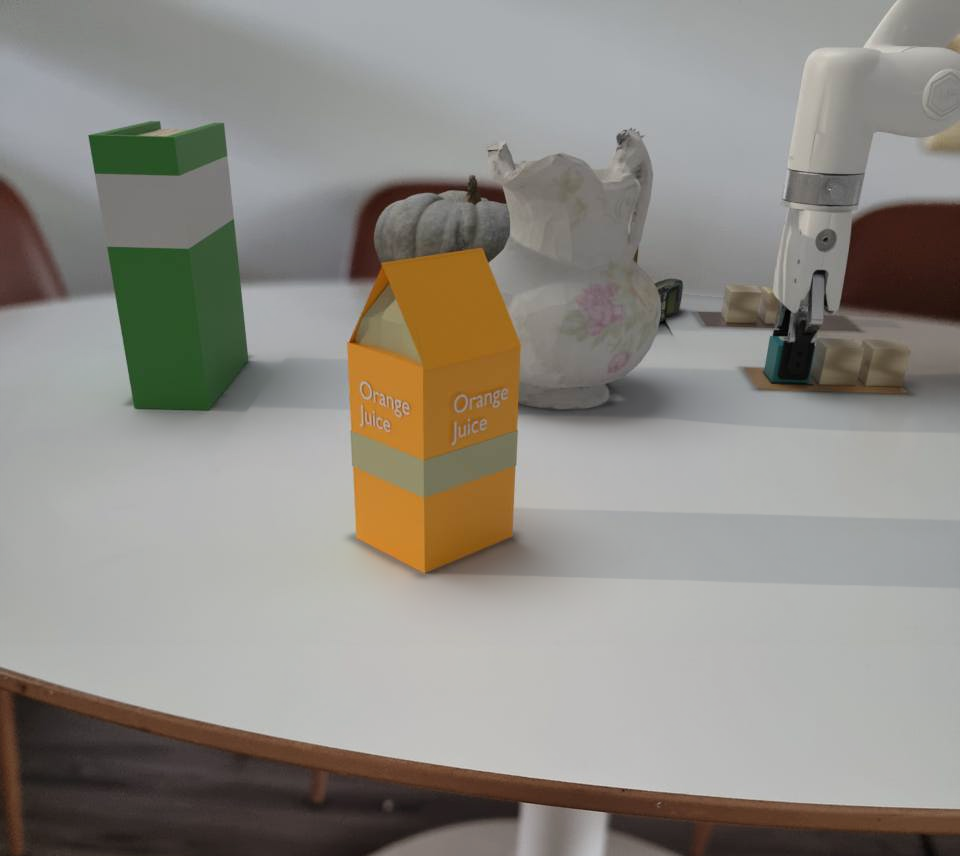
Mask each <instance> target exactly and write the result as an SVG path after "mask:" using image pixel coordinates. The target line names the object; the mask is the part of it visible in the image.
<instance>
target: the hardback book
mask: <svg viewBox="0 0 960 856" xmlns="http://www.w3.org/2000/svg"><path fill="white" fill-rule="evenodd" d="M87 136H88V142H89V148H90V153H91V160H92V165H93V171H94V178H95V183H96V184H95V185H96V189H97V195H98V202H99V207H100V213H101V218H102V219H101V220H102V225H103V230H104V237H105V243H106V249H107V255H108V260H109V267H110V272H111V278H112V284H113V290H114V297H115V302H116V309H117V314H118V319H119V326H120V331H121V338H122V343H123V349H124V355H125V361H126V367H127V372H128V373H127V374H128V379H129V385H130V391H131V396H132V403H133V408H134V409H149V410H188V411H189V410H191V411H210V410H211V408H212V407H213V406H214V405H215V404H216V403H217V401H218V400H219V398H220V397H221V396H222V395H223V393H224V392H225V391H226V390H227V389H228V387H229V386H230V385H231V383H232V382H233V381H234V380H235V378H236V377H237V376H238V374H239V373H240V372H241V371H242V370H243V368H244V367H245V366H246V364H248V362H249V352H248V343H247V342H248V341H247V332H246V323H245V322H246V321H245V313H244V303H243V293H242V284H241V283H242V282H241V273H240V265H239V264H240V263H239V255H238V246H237V235H236V226H235V216H234V207H233V195H232V187H231V177H230V168H229V157H228V149H227V148H228V147H227V139H226V138H227V137H226V127H225V122H212V123H208V124H205V125H201V126H198V127H194V128H191V129H177V128H176V129H175V128H173V129H172V128H162V124H161V121H160V120H149V121H144V122H141V123H137V124H132V125H127V126H122V127H118V128H113V129H110V130H105V131H100V132H97V133H91V134H88V135H87Z"/></svg>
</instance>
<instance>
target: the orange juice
mask: <svg viewBox="0 0 960 856" xmlns="http://www.w3.org/2000/svg"><path fill="white" fill-rule="evenodd" d="M381 264H382V266H381V268H380V270H379V272H378V275H377V277H376V279H375V281H374V284H373V286H372V288H371V291H370V292H369V294H368V297H367V300H366V301H365V305H364V306H363V309H362V311H361V313H360V315H359V317H358V320H357V323H356V325H355V326H354V329H353V332H352V334H351V336H350V338H349V341H347V342H346V349H347V351H346V352H347V370H348V371H347V372H348V373H347V374H348V390H349V392H348V393H349V413H350V414H349V415H350V432H349V433H350V449H351V450H350V451H351V466H352V476H353V495H354V496H353V497H354V514H355V515H354V516H355V537H356V539H358V540H359V541H361V542H363V543H366V544H367V545H369V546H371V547H373V548H375V549H377V550H378V551H381V552H382V553H385V554H387V555H389V556H390V557H392V558H395V559H396V560H398V561H400V562H402V563H404V564H406V565H408V566H410V567H412V568H414V569H415V570H418V571H420V572H422V573H423V574H426V573H430V572H431V571H434V570H435V569H438V568H441V567H443V566H445V565H448V564H451V563H452V562H455V561H457V560H460V559H462V558H465V557H467V556H469V555H472V554H475V553H476V552H479V551H481V550H483V549H486V548H489V547H491V546H493V545H496V544H498V543H501V542H503V541H506V540H509V539H510V538H512V537H513V535H514V534H513V533H514V532H513V531H514V510H515V509H514V508H515V489H516V488H515V485H516V467H517V457H518V438H519V437H518V436H519V435H518V434H519V431H518V419H519V418H518V416H519V403H518V397H519V375H520V352H521V347H522V346H521V343H520V341H519V338H518V336H517V333H516V331H515V328H514V326H513V323H512V321H511V318H510V316H509V313H508V311H507V308H506V306H505V303H504V301H503V298H502V296H501V293H500V291H499V288H498V286H497V283H496V281H495V278H494V276H493V273H492V271H491V268H490V266H489V263H488V261H487V258H486V256H485V253H484V251H483V248H477V249H470V250H463V251H457V252H450V253H444V254H437V255H430V256H424V257H417V258H410V259H404V260H397V261H391V262H384V263H380V265H381Z"/></svg>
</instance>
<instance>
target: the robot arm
mask: <svg viewBox="0 0 960 856" xmlns="http://www.w3.org/2000/svg"><path fill="white" fill-rule="evenodd" d="M958 35H960V0H896V1H895V2H894V3H893V5H892V6H891V7H890V9H888V11H887V12H886V14H885V15H884V17H883V18H882V19H881V21H880V22H879V23H878V25H877V26H876V28H875V29H874V31H873V32H872V33H871V35H870V36H869V38H868V39H867V40H866V42H865V43H864V45H863V46H862V47H858V46H857V47H856V46H855V47H853V46H852V47H851V46H825V47H819V48H816V49H815V50H813V51H812V52H811V53H810V54H809V55H808V57H807V58H806V60H805V63H804V67H803V71H802V77H801V83H800V88H799V93H798V100H797V106H796V112H795V118H794V123H793V129H792V135H791V140H790V141H791V142H790V145H789V146H790V147H789V152H788V159H787V165H786V170H785V174H784V175H785V176H784V181H783V182H784V183H783V187H782V194H781V199H780V205H781V206H782V207H785V208H787V211H786V216H785V219H784V224H783V229H782V232H781V233H782V234H781V239H780V242H779V248H778V252H777V256H776V257H777V258H776V263H775V269H774V275H773V284H772V286H773V293H774V295H775V297H776V298H777V299H778V300H779V301H780V302H779V304H778V305H779V306H778V310H777V315H776V319H775V328H774V329H773V331H772V336H788V341H784V342H783V348H782V353H781V358H780V364H779V369H778V377H779V379H782V380H806V379H808V376H809V371H810V366H811V361H812V357H813V352H814V347H815V345H816V340H817V338H818V333H819V331H820V329H819V327H820V326H821V325H822V323H823V316H824V312H825V313H826V314H827V315H834V314H836V313H837V312H838V311H839V309H840V305H841V299H842V293H843V290H844V289H843V288H844V282H845V277H846V276H845V275H846V271H847V270H846V269H847V264H848V257H849V249H850V244H851V235H852V222H853V212H854V211H857V210H858V209H859V205H860V199H861V194H862V190H863V184H864V180H865V175H866V170H867V166H868V161H869V156H870V151H871V147H872V142H873V138H874V134H875V133H877V132H879V133H885V134H886V133H887V134H891V135H896V136H902V137H907V138H916V139H917V138H929V137H933V136H936V135H939V134H942V133H944V132H946V131H948V130H949V129H951V128H953V127H955V125H957V124H958V122H960V53H959V52H957V51H955V50H952V49H950V48H947V47H948V45H949V44H950V43H951V42H952V41H953V40H954V39H955V38H957V37H958ZM804 318H805V320H804Z"/></svg>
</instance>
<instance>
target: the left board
mask: <svg viewBox="0 0 960 856" xmlns="http://www.w3.org/2000/svg"><path fill="white" fill-rule="evenodd" d="M779 302H780V301H779V300H778V299H777V298H776V297H775V295H774V293H773V285H763V286H762V291H761V290H760V288H758V287H757V286H756V285H738V284H737V285H736V284H726V285H725V287H724V294H723V301H722V308H721V311H720V312H719V311H696V314H697V315H698V316H699V318H700V319H701V321H702V322H703V323H704V326H705V327H715V328H716V327H721V328H753V329H756V328H757V329H775V319H776V315H777V310H778V306H779V305H778V304H779ZM804 320H805V318H804ZM820 330H823V331H826V330H828V331H856V332H857V331H860V329H859V328H858V327H856V326H855V325H854V324H853V323H852V322H851V321H849V320H848V319H847V318H845V316H843V315H831V314H825V315H824V316H823V323H822V325H821V326H820V327H819V331H820Z"/></svg>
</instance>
